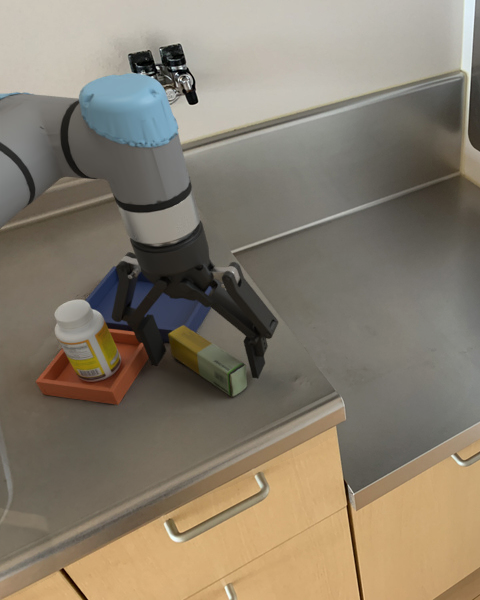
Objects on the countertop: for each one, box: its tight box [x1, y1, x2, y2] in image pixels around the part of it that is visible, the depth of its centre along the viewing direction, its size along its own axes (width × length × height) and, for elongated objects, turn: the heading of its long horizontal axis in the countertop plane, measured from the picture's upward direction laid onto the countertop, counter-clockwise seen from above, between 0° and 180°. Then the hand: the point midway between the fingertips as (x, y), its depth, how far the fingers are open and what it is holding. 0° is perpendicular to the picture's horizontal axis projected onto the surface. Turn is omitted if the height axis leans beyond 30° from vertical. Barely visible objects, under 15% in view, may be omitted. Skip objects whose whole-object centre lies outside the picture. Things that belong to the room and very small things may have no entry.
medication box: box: [168, 326, 248, 398], centre depth 78 cm, size 12×3×4 cm, turn 54°
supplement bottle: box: [53, 299, 121, 382], centre depth 76 cm, size 6×6×10 cm
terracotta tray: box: [35, 329, 149, 406], centre depth 79 cm, size 10×10×2 cm
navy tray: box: [84, 265, 212, 343], centre depth 88 cm, size 17×12×2 cm
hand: (208, 364), depth 79 cm, fingers open, 13 cm apart
